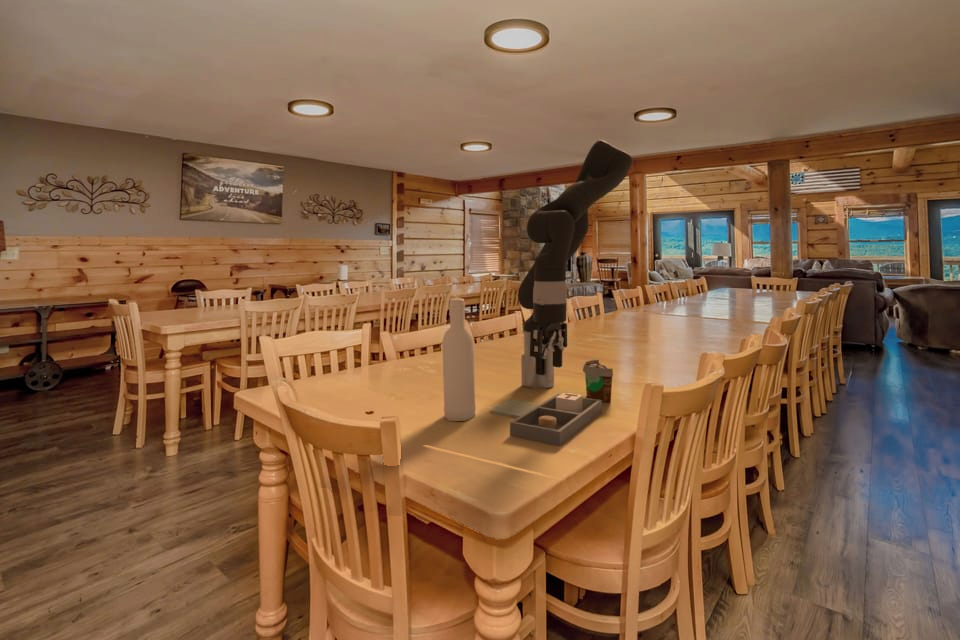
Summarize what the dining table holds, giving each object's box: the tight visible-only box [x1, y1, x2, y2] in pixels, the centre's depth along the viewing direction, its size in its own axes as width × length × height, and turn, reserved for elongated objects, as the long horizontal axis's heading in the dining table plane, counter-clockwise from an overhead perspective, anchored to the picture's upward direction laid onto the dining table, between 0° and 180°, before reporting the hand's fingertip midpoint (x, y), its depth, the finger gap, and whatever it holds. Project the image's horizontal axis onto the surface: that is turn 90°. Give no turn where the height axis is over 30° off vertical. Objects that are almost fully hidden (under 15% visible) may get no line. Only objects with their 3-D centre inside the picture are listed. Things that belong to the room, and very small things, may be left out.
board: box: [489, 399, 541, 419], centre depth 127 cm, size 11×11×1 cm
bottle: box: [442, 297, 476, 422], centre depth 122 cm, size 8×8×30 cm
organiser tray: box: [509, 393, 603, 447], centre depth 117 cm, size 12×26×4 cm, turn 147°
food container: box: [582, 359, 614, 404], centre depth 136 cm, size 12×6×10 cm, turn 5°
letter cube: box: [556, 392, 584, 413], centre depth 122 cm, size 5×5×5 cm
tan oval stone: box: [539, 416, 556, 430], centre depth 112 cm, size 4×4×3 cm
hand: (549, 370), depth 113 cm, fingers open, 8 cm apart
